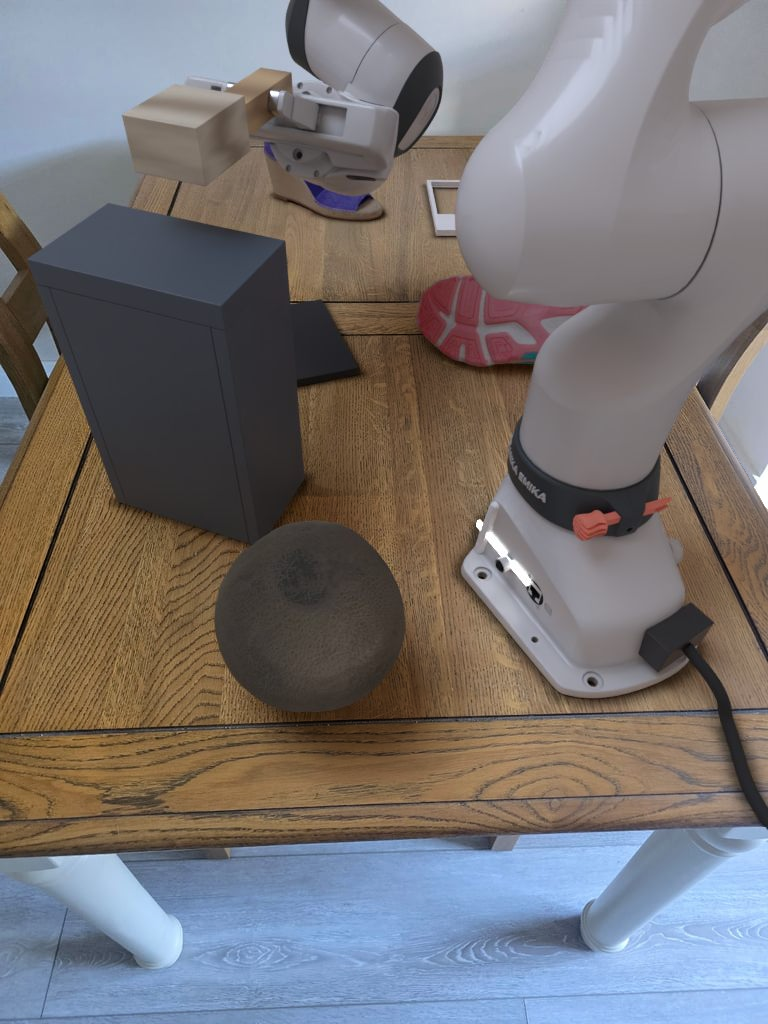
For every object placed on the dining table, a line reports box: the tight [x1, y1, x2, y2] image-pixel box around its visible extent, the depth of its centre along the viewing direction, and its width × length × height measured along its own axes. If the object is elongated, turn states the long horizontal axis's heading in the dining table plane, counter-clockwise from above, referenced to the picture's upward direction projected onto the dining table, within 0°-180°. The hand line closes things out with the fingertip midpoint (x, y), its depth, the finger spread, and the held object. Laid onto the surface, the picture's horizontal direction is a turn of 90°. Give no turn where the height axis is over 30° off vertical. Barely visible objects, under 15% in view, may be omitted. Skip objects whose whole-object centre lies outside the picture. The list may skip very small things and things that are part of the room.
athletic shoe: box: [414, 274, 590, 368], centre depth 88 cm, size 27×9×12 cm
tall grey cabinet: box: [26, 202, 306, 546], centre depth 62 cm, size 10×16×26 cm, turn 70°
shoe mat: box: [290, 298, 360, 387], centre depth 89 cm, size 16×10×1 cm, turn 20°
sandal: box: [263, 141, 384, 222], centre depth 110 cm, size 8×20×15 cm, turn 60°
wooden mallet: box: [121, 67, 293, 187], centre depth 56 cm, size 18×6×4 cm, turn 160°
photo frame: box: [425, 179, 461, 237], centre depth 115 cm, size 15×1×18 cm
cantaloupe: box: [213, 520, 407, 713], centre depth 53 cm, size 14×14×15 cm
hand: (251, 96), depth 59 cm, fingers closed on wooden mallet, 3 cm apart
